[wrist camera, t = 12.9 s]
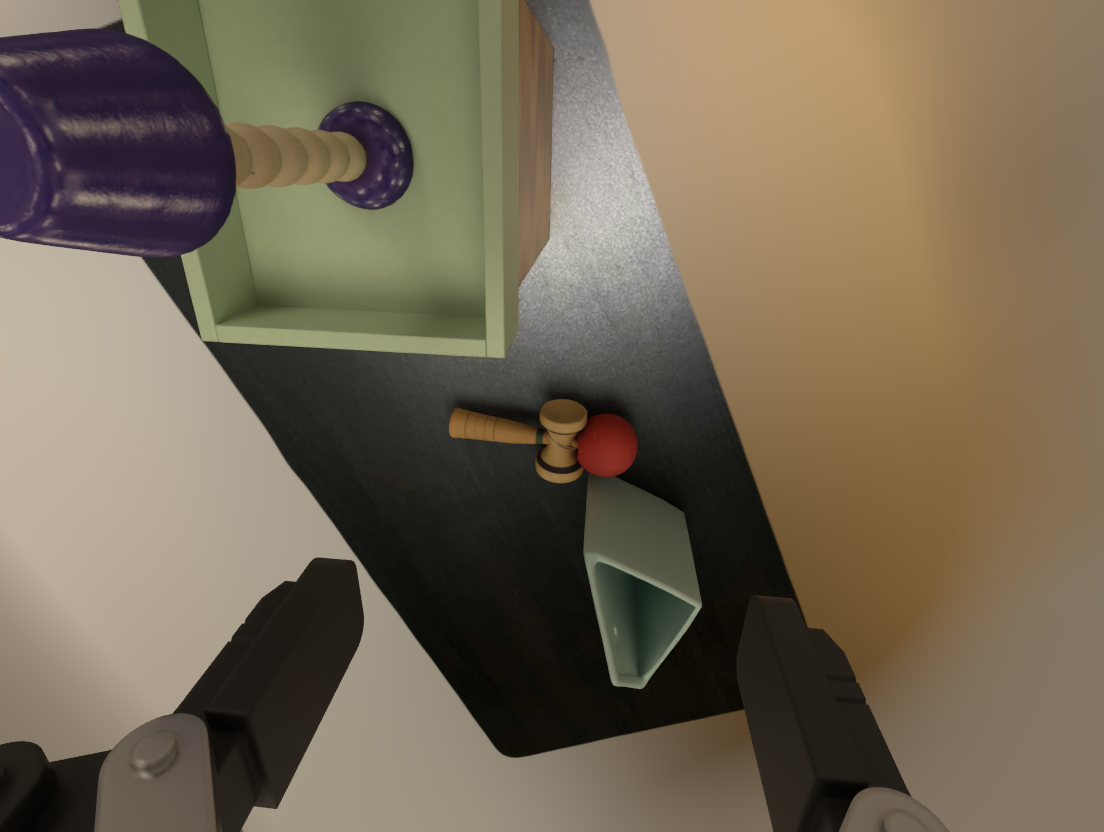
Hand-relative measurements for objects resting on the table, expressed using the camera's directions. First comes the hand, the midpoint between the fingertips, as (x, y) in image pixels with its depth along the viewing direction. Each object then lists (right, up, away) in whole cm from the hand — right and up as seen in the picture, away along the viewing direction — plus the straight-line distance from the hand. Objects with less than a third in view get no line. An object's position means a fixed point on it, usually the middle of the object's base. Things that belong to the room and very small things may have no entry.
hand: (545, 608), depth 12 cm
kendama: (-1, +3, +46) cm, 46 cm away
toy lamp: (-8, +15, +13) cm, 22 cm away
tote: (-8, +16, +14) cm, 22 cm away
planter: (+10, -7, +49) cm, 51 cm away
